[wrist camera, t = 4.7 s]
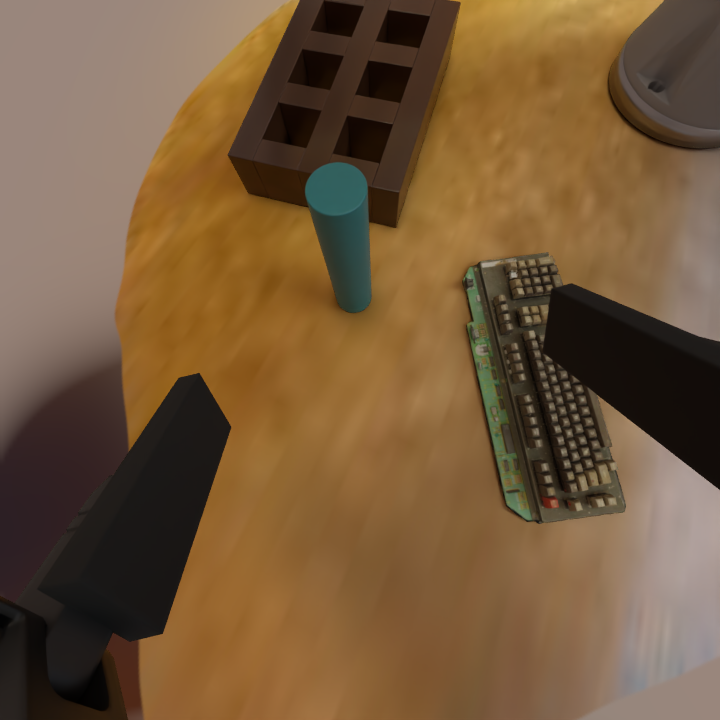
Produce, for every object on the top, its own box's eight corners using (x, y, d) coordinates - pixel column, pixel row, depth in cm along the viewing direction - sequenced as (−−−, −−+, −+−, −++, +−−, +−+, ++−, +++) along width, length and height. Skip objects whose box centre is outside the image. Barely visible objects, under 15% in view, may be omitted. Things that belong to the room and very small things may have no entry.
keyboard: (627, 510, 23) (650, 518, 21) (508, 525, 23) (520, 534, 21) (551, 254, 28) (564, 241, 26) (453, 268, 28) (459, 256, 26)
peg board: (449, 57, 34) (460, 1, 29) (396, 227, 29) (399, 192, 25) (317, 35, 35) (309, -21, 31) (248, 193, 31) (227, 154, 27)
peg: (375, 285, 28) (375, 168, 16) (365, 316, 28) (356, 221, 15) (342, 277, 29) (316, 156, 16) (332, 307, 28) (295, 207, 15)
